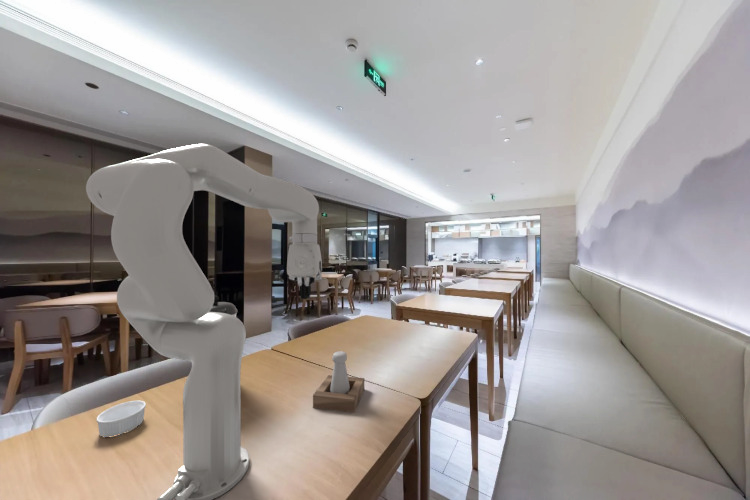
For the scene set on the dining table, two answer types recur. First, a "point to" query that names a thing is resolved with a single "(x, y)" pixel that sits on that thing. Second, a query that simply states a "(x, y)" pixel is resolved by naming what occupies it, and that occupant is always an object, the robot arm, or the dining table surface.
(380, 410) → the dining table surface
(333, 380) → the salt shaker
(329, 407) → the socket block
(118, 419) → the ramekin
